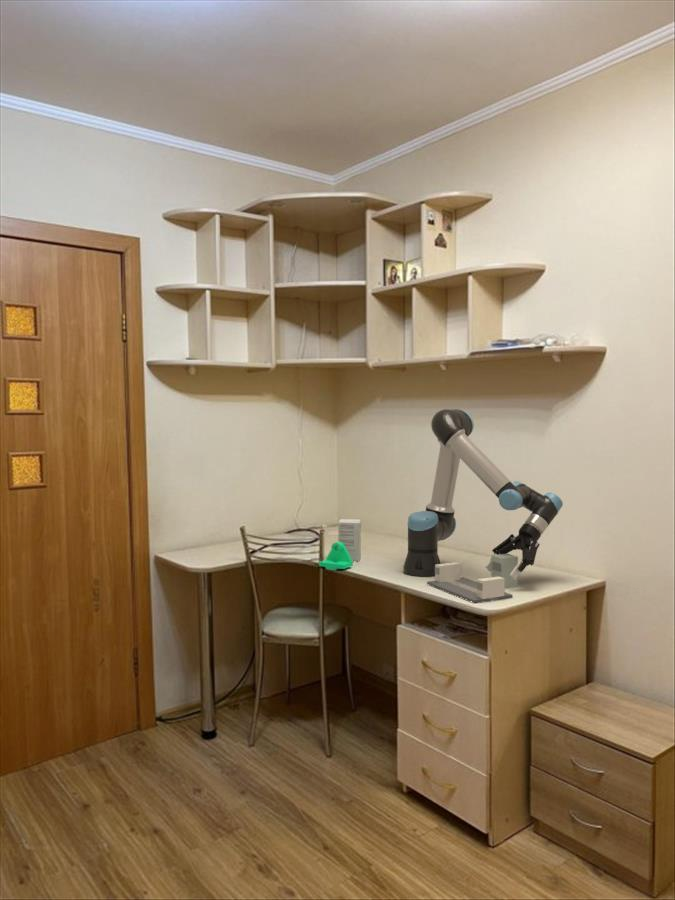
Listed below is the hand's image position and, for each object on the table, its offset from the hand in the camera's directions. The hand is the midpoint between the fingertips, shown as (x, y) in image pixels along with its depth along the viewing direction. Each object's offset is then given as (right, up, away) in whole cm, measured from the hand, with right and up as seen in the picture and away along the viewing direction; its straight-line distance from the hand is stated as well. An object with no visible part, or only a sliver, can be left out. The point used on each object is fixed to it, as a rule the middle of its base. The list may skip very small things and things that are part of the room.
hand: (499, 573), depth 247 cm
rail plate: (-13, -5, -6) cm, 15 cm away
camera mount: (-59, -4, +31) cm, 67 cm away
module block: (+2, -5, +1) cm, 5 cm away
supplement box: (-53, -3, +47) cm, 71 cm away
